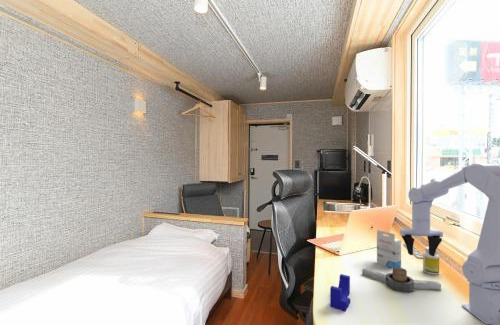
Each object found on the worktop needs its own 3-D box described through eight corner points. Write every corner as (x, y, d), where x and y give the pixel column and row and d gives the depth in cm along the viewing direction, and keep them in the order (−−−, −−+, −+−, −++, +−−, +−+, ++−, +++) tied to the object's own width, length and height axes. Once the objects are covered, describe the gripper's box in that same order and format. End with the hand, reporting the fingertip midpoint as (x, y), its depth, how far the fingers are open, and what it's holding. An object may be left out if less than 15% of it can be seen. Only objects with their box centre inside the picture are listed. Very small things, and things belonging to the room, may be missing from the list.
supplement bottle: (442, 275, 100) (442, 250, 100) (426, 274, 101) (426, 249, 102) (435, 270, 106) (435, 246, 106) (420, 269, 107) (420, 245, 107)
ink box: (401, 267, 109) (401, 232, 109) (394, 269, 106) (395, 234, 106) (382, 260, 116) (383, 228, 116) (376, 262, 114) (376, 229, 114)
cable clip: (345, 312, 75) (345, 291, 75) (330, 307, 77) (330, 287, 77) (354, 295, 84) (354, 277, 85) (340, 291, 87) (340, 273, 87)
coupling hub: (409, 289, 88) (409, 272, 88) (395, 289, 89) (395, 272, 89) (402, 283, 93) (402, 267, 93) (389, 282, 94) (389, 266, 94)
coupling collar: (447, 295, 85) (447, 286, 85) (374, 290, 88) (374, 281, 88) (422, 276, 99) (422, 268, 99) (361, 273, 102) (361, 265, 102)
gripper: (434, 217, 100) (434, 252, 100) (396, 216, 101) (396, 250, 101) (446, 221, 93) (446, 258, 93) (405, 220, 94) (404, 256, 94)
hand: (420, 254), depth 97 cm, fingers open, 7 cm apart
